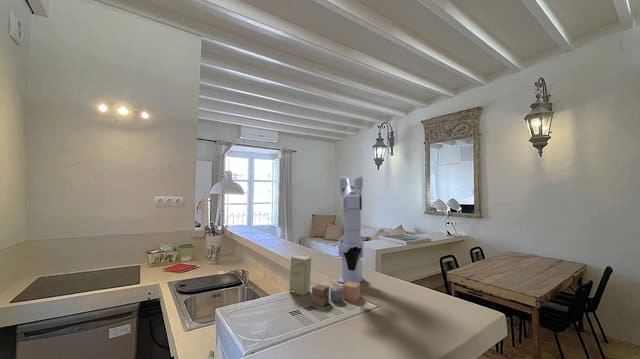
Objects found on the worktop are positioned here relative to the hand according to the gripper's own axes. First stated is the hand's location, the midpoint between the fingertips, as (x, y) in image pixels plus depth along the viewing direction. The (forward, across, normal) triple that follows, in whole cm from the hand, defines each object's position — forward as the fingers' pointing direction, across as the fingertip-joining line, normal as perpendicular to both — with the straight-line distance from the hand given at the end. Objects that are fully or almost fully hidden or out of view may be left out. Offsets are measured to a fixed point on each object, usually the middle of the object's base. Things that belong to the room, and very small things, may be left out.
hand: (351, 269), depth 85 cm
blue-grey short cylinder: (+9, -5, +4) cm, 11 cm away
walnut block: (+9, -9, +7) cm, 15 cm away
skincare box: (+9, -5, +18) cm, 20 cm away
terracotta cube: (+9, 0, 0) cm, 9 cm away
